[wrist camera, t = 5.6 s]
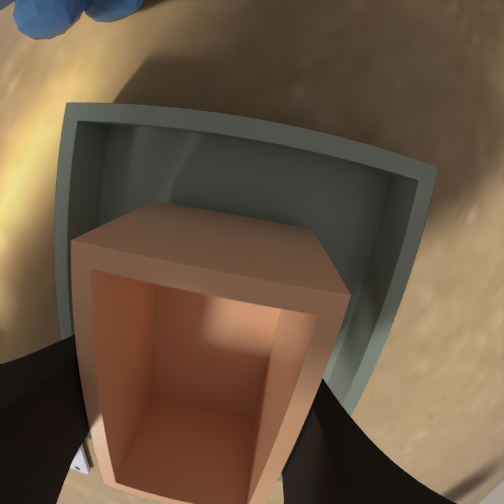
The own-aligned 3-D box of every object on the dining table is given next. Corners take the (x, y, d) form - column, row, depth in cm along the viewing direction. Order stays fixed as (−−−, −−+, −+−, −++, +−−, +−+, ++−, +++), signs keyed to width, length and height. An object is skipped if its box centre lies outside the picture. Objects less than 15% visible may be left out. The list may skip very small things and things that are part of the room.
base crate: (100, 398, 16) (79, 433, 13) (106, 110, 11) (66, 102, 8) (308, 441, 16) (312, 482, 13) (401, 162, 11) (437, 167, 9)
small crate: (145, 395, 14) (104, 484, 8) (156, 200, 11) (71, 240, 6) (261, 419, 14) (257, 518, 8) (312, 229, 11) (351, 295, 6)
